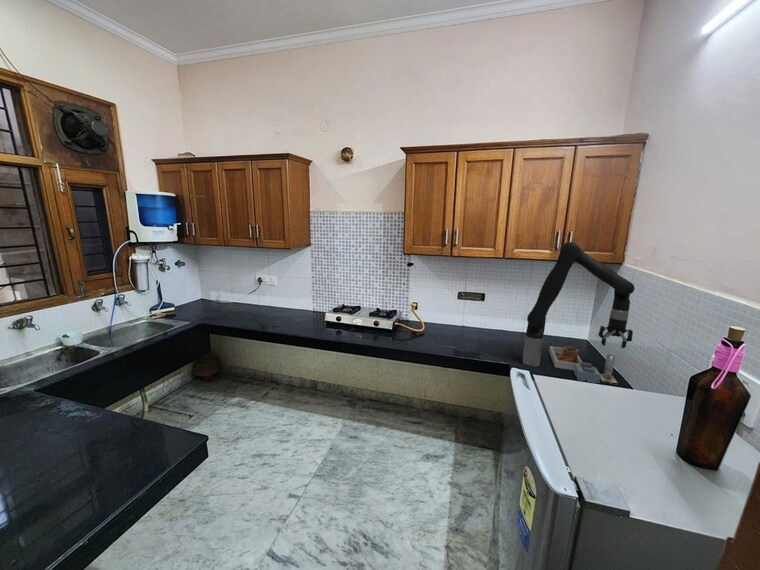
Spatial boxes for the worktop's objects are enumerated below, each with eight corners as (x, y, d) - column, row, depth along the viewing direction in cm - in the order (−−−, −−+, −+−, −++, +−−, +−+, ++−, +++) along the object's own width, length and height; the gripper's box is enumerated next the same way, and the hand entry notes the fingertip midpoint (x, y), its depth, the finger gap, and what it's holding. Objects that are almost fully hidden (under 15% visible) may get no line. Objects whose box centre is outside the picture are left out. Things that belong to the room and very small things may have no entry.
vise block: (577, 380, 170) (579, 368, 168) (573, 372, 179) (575, 360, 178) (599, 383, 166) (601, 371, 165) (594, 375, 175) (596, 363, 174)
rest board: (602, 381, 168) (602, 380, 168) (597, 374, 177) (597, 373, 176) (617, 384, 166) (617, 383, 166) (612, 376, 174) (612, 375, 174)
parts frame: (554, 367, 185) (555, 360, 184) (549, 351, 207) (549, 346, 206) (583, 371, 180) (584, 365, 179) (574, 355, 202) (575, 349, 201)
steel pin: (604, 378, 170) (608, 356, 168) (602, 375, 173) (606, 354, 171) (612, 380, 169) (616, 357, 166) (610, 377, 172) (613, 355, 170)
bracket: (567, 355, 201) (568, 345, 200) (580, 360, 194) (581, 349, 193) (549, 361, 193) (550, 351, 191) (563, 367, 186) (564, 356, 184)
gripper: (604, 317, 163) (599, 346, 167) (637, 321, 158) (631, 351, 162) (600, 313, 170) (595, 341, 173) (632, 317, 165) (626, 346, 168)
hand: (612, 346), depth 168 cm, fingers open, 8 cm apart
